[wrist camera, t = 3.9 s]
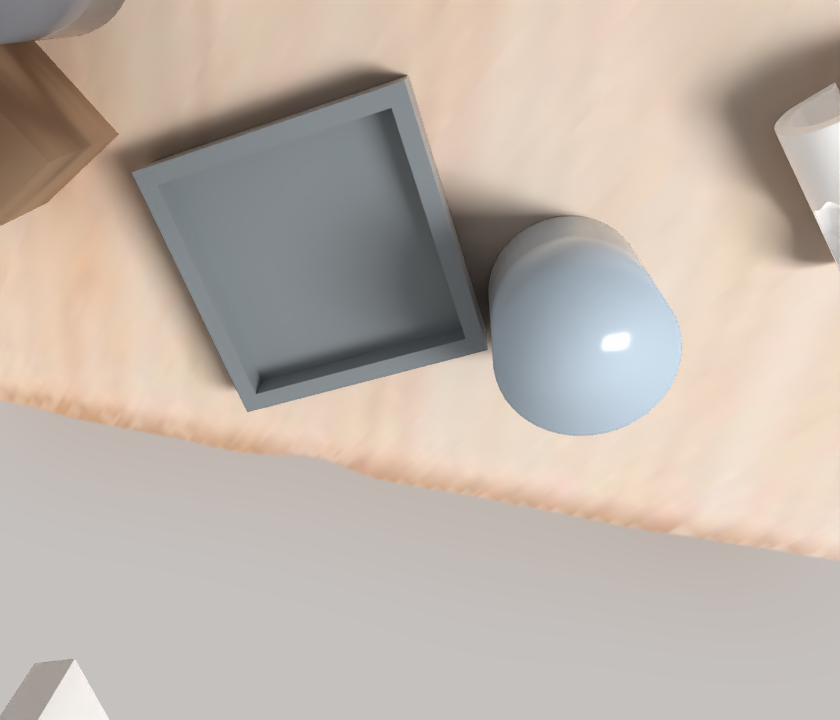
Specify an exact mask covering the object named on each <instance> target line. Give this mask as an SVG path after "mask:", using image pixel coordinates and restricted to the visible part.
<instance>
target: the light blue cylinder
mask: <svg viewBox="0 0 840 720" xmlns="http://www.w3.org/2000/svg"><path fill="white" fill-rule="evenodd" d="M489 307H490V323H491V338H492V353H493V367H494V373H495V377H496V381H497V383H498V386H499V388H500V390H501V392H502V394H503V396H504V397H505V399H506V400H507V402H508V403H509V404H510V405H511V407H512V408H513V409H514V410H515V411H516V412H517V413H518V414H519V415H521V416H522V417H523V418H525V419H526V420H527V421H529V422H531V423H533V424H534V425H536V426H538V427H540V428H543V429H545V430H548V431H551V432H555V433H558V434H565V435H573V436H588V435H597V434H603V433H607V432H611V431H614V430H617V429H620V428H622V427H625V426H627V425H629V424H631V423H633V422H634V421H636V420H638V419H639V418H641V417H642V416H644V415H645V414H647V413H648V412H649V411H650V410H651V409H652V408H653V407H655V406H656V405H657V404H658V402H659V401H660V400H661V399H662V398H663V397H664V395H665V394H666V393H667V391H668V390H669V388H670V387H671V385H672V383H673V381H674V379H675V377H676V374H677V371H678V368H679V365H680V359H681V351H682V341H681V333H680V329H679V325H678V322H677V320H676V317H675V315H674V313H673V311H672V309H671V308H670V306H669V305H668V303H667V302H666V300H665V299H664V297H663V295H662V294H661V292H660V291H659V289H658V288H657V286H656V285H655V283H654V281H653V280H652V278H651V277H650V275H649V274H648V272H647V271H646V269H645V267H644V266H643V264H642V263H641V261H640V260H639V258H638V257H637V255H636V253H635V252H634V250H633V249H632V247H631V246H630V244H629V243H628V242H627V241H626V239H625V238H624V237H623V236H622V235H621V234H619V233H618V232H617V231H616V230H614V229H613V228H611V227H610V226H608V225H606V224H604V223H602V222H600V221H597V220H594V219H591V218H587V217H581V216H560V217H554V218H549V219H546V220H543V221H540V222H537V223H535V224H533V225H531V226H529V227H527V228H526V229H524V230H523V231H521V232H520V233H518V234H517V235H516V236H515V237H514V238H513V239H511V240H510V242H509V243H508V244H507V245H506V246H505V247H504V249H503V250H502V251H501V253H500V254H499V256H498V258H497V260H496V262H495V264H494V266H493V269H492V272H491V276H490V281H489Z"/></svg>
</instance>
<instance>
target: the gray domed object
mask: <svg viewBox="0 0 840 720" xmlns="http://www.w3.org/2000/svg"><path fill="white" fill-rule="evenodd" d="M123 2H124V0H0V44H8V43H17V42H26V41H35V40H45V39H54V38H63V37H72V36H80V35H83V34H86V33H90V32H92V31H94V30H96V29H98V28H100V27H101V26H103V25H104V24H106V23H107V22H108V21H109V20H110V19H111V18H112V17H113V16H114V15H115V14H116V13H117V11H118V10H119V9H120V7H121V6H122V4H123Z"/></svg>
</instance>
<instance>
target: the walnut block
mask: <svg viewBox="0 0 840 720" xmlns="http://www.w3.org/2000/svg"><path fill="white" fill-rule="evenodd" d="M118 135H119V134H118V133H117V132H116V131H115V130H114V128H113V127H112V126H111V125H110V124H109V123H108V122H107V121H106V120H105V119H104V117H103V116H102V115H101V114H100V113H99V112H98V111H97V110H96V109H95V108H94V106H93V105H92V104H91V103H90V102H89V101H88V100H87V99H86V98H85V96H84V95H83V94H82V93H81V92H80V91H79V90H78V89H77V88H76V87H75V85H74V84H73V83H72V82H71V81H70V80H69V79H68V78H67V77H66V76H65V74H64V73H63V72H62V71H61V70H60V69H59V68H58V67H57V66H56V64H55V63H54V62H53V61H52V60H51V59H50V58H49V57H48V56H47V55H46V53H45V52H44V51H43V50H42V49H41V48H40V47H39V46H38V45H37V44H36V42H35V41H26V42H17V43H8V44H0V226H1V225H3V224H5V223H7V222H9V221H11V220H13V219H15V218H17V217H19V216H21V215H23V214H25V213H27V212H29V211H31V210H33V209H35V208H37V207H39V206H41V205H43V204H45V203H47V202H48V201H49V200H50V199H51V198H52V197H53V196H54V195H55V194H57V193H58V192H59V191H60V190H61V189H62V188H63V187H64V186H65V185H66V184H67V183H68V182H69V181H70V180H71V179H72V178H73V177H74V176H75V175H77V174H78V173H79V172H80V171H81V170H82V169H83V168H84V167H85V166H86V165H87V164H88V163H89V162H90V161H91V160H92V159H93V158H94V157H95V156H96V155H98V154H99V153H100V152H101V151H102V150H103V149H104V148H105V147H106V146H107V145H108V144H109V143H110V142H111V141H112V140H113V139H114V138H115V137H116V136H118Z"/></svg>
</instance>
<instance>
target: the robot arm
mask: <svg viewBox="0 0 840 720" xmlns="http://www.w3.org/2000/svg"><path fill="white" fill-rule="evenodd" d="M0 720H109V718H108V717H107V715H106V713H105V711H104V710H103V708H102V706H101V704H100V703H99V701H98V699H97V697H96V695H95V694H94V692H93V690H92V688H91V687H90V685H89V683H88V681H87V680H86V678H85V676H84V674H83V672H82V671H81V669H80V667H79V665H78V664H77V662H76V660H75V659H68V660H60V661H51V662H42V663H35V664H34V665H33V667H32V668H31V670H30V672H29V673H28V675H27V676H26V678H25V679H24V681H23V682H22V684H21V685H20V687H19V688H18V690H17V691H16V693H15V694H14V696H13V697H12V699H11V700H10V702H9V703H8V705H7V706H6V708H5V710H4V711H3V712H2V714H1V716H0Z"/></svg>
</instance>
